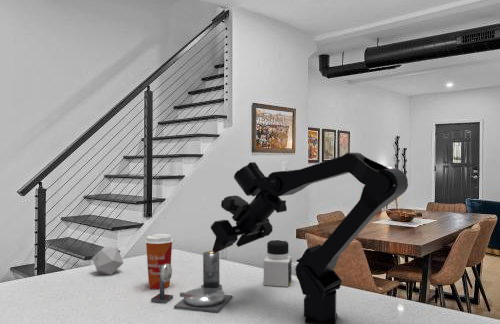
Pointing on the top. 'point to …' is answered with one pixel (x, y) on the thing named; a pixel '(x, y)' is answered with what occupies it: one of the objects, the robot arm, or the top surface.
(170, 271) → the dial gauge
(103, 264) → the die
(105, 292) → the top surface
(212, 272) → the cylinder with brass cap
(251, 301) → the top surface
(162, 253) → the paper cup
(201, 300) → the platter
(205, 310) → the turntable base
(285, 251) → the medicine bottle
